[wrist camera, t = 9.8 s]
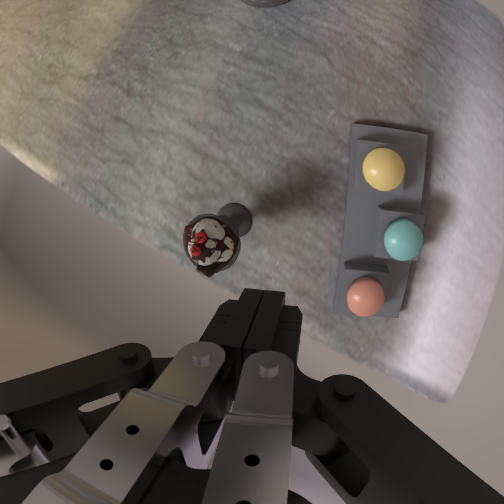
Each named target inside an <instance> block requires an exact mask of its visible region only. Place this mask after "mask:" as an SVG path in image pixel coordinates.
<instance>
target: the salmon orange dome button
mask: <svg viewBox="0 0 504 504" xmlns="http://www.w3.org/2000/svg"><path fill="white" fill-rule="evenodd" d="M384 299H385V297H384V292H383V290H382V287H381V285H380V283H379V282H378V281H377V280H375V279H373V278H369V277H363V278H359V279H357V280H355V281H354V282H353V283H352V284H351V285H350V286H349V288H348V290H347V303H348V307H349V309H350V310H351V311H352V312H353V313H354V314H356V315H358V316H370V315H373V314H375V313H376V312H378V311H379V310H380V309H381V307H382V306H383V304H384Z"/></svg>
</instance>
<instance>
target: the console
mask: <svg viewBox="0 0 504 504" xmlns="http://www.w3.org/2000/svg"><path fill="white" fill-rule="evenodd" d="M427 135H428V134H423V133H417V132H411V131H405V130H399V129H392V128H385V127H378V126H370V125H362V124H353V123H352V124H351V131H350V152H349V168H348V182H347V195H346V206H345V217H344V227H343V236H342V244H341V253H340V261H339V268H338V276H337V283H336V290H335V296H334V303H333V313H341V314H353V315H356V314H354V313H353V312H352V311H351V310H350V309H349V307H348V303H347V290H348V288H349V286H350V285H351V284H352V283H353V282H354V281H355V280H357V279H359V278H363V277H369V278H373V279H375V280H377V281H378V282H379V283H380V285H381V287H382V290H383V292H384V297H385V299H384V304H383V306H382V307H381V309H380V310H379V311H378V312H376V313H375V314H373V315H370V316H379V317H394V318H398V316H399V312H400V309H401V305H402V301H403V297H404V293H405V289H406V284H407V280H408V275H409V271H410V266H411V261H418V258H419V253H420V251H419V253H418V254H417V255H416V256H415V257H414V258H412V259H410V260H406V261H399V260H396V259H394V258H393V257H391V256H390V255H389V253H388V252H387V250H386V248H385V246H384V243H383V234H384V231H385V229H386V227H387V226H388V225H389V224H390V223H391V222H392V221H394V220H396V219H400V218H405V219H408V220H411V221H412V222H413V223H414V224H415V225H416V226H417V227H418V228H419V229H420V230H421V232H422V235H423V231H424V225H425V219H426V215H425V214H424V213H422V212H421V211H420V209H421V201H422V193H423V185H424V175H425V165H426V152H427ZM375 148H387V149H391V150H393V151H395V152H396V153H397V154H398V155H399V156H400V157H401V159H402V161H403V163H404V167H405V174H404V178H403V180H402V182H401V183H400V184H399V185H398V186H397V187H396V188H395V189H392V190H389V191H380V190H377V189H375V188H374V187H372V186H371V185H370V184H369V183H368V182H367V181H366V180H365V178H364V176H363V173H362V162H363V159H364V157H365V156H366V154H367V153H368V152H370V151H371V150H373V149H375Z"/></svg>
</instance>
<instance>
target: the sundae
mask: <svg viewBox="0 0 504 504" xmlns="http://www.w3.org/2000/svg"><path fill="white" fill-rule="evenodd" d="M250 227H251V216H250V214H249V212H248V211H247V209H246V208H244V207H243V206H242V205H239V204H235V203H231V204H227V205H225V206H223V207H222V208H221V209H220V211H219V212H218V215H217V216H216V215H213V214H203V215H199V216H197V217H196V218H194V219H193V220H191V221H190V222H189V224H188V225H187V226H185V230H184V234H183V244H184V248H185V252H186V254H187V256H188V258H189V259H190V261H191V262H192V263H193V264H194V265H195V266H197V269H196V271H197V272H199V273H201V274H203V275H205V276H207V277H212V275H213V274H214V273H217V272H219V271H223V270H225V269H227V268H229V267H231V265H232V264H233V263H234V262H235V261H236V259H237V257H238V255H239V251H240V245H241V243H240V238H239V237H242V236H244V235H245V234H246V233H247V232H248V231H249V230H250Z"/></svg>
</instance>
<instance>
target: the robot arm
mask: <svg viewBox="0 0 504 504" xmlns="http://www.w3.org/2000/svg"><path fill="white" fill-rule="evenodd" d="M242 1H244V2H245V3H247V4H249V5H252V6H256V7H274V6H278V5H281V4H283V3H286V2H287V1H289V0H242ZM302 315H303V314H302V313H301V311H300V309H299V308H298V306H288V305H285V292H280V291H270V290H265V291H264V290H259V289H249V288H244V290H243V292H242V294H241V296H240V298H239V300H228V301H226V302H225V303H223V304H222V305H220V306H219V308H218V310H217V311H216V313H215V315H214V316H213V318H212V320H211V322H210V323H209V325H208V326H207V328H206V330H205V332H204V333H203V335H202V336H201V338H200V340H199V341H198V342H195V343H191V344H188V345H186V346H184V347H183V348H182V349H181V350H180V351H179V352H178V353H177V355H176V356H175V357H171V358H152V356H151V352H150V350H149V349H148V348H147V347H146V346H144V345H142V344H139V343H126V344H122V345H119V346H116V347H113V348H110V349H107V350H104V351H101V352H98V353H95V354H92V355H89V356H86V357H83V358H80V359H77V360H74V361H71V362H68V363H65V364H62V365H58V366H56V367H52V368H49V369H46V370H43V371H40V372H36V373H33V374H30V375H26V376H23V377H20V378H16V379H13V380H9V381H6V382H3V383H0V504H312V503H311V502H309V501H308V500H307V499H305V498H304V497H302V496H300V495H299V494H297V493H295V492H293V491H291V490H289V489H288V484H289V471H290V458H291V445H292V446H295V447H297V448H300V449H303V450H305V454H306V456H307V458H308V459H309V460H310V462H311V463H312V464H313V465H314V467H315V468H316V469H317V470H318V471H319V473H320V474H321V475H322V476H323V477H324V478H325V480H326V481H327V482H328V483H329V484H330V486H331V487H332V488H333V489H334V490H335V491H336V492H337V494H338V495H339V496H340V497H341V498H342V499H343V500H344V501H345V503H346V504H504V496H502V495H501V494H499V493H498V492H497V491H496V490H495V489H493V488H492V487H491V486H489V485H488V484H487V483H485V482H484V481H483V480H482V479H480V478H479V477H478V476H477V475H475V474H474V473H473V472H472V471H470V470H469V469H468V468H467V467H466V466H464V465H463V464H462V463H461V462H459V461H458V460H457V459H455V458H454V457H453V456H452V455H451V454H449V453H448V452H447V451H445V450H444V449H443V448H442V447H441V446H440V445H438V444H437V443H436V442H435V441H434V440H432V439H431V438H430V437H429V436H427V435H426V434H425V433H424V432H423V431H421V430H420V429H419V428H418V427H417V426H415V425H414V424H413V423H412V422H411V421H409V420H408V419H407V418H406V417H405V416H404V415H402V414H401V413H400V412H399V411H398V410H396V409H395V408H394V407H393V406H392V405H390V404H389V403H388V402H387V401H386V400H384V399H383V398H382V397H381V396H380V395H379V394H378V393H376V392H375V391H374V390H373V389H372V388H370V387H369V386H368V385H367V384H366V383H365V382H363V381H362V380H361V379H359V378H357V377H354V376H350V375H344V374H343V375H342V374H340V375H333V376H330V377H328V378H326V379H324V380H323V381H322V382H320V381H317V380H314V379H311V378H309V377H307V376H306V375H304V374H303V373H302V372H301V371H300V370H299V368H298V366H297V358H298V351H299V344H300V334H301V325H302ZM116 392H118V395H119V398H120V401H118V402H115V403H112V404H110V405H107V406H104V407H101V408H99V409H96V410H93V411H91V412H81V411H80V410H78V408H79V407H80V406H82V405H83V404H86V403H89V402H92V401H94V400H97V399H100V398H103V397H105V396H108V395H111V394H114V393H116ZM233 401H234V406H233V409H232V413H229V410H230V408H231V405H232V403H233ZM218 441H219V442H218ZM217 443H218V446H217V449H216V453H215V457H214V460H213V464H212V468H211V469H206V468H207V464H208V461H209V459H210V457H211V455H212V453H213V451H214V449H215V447H216V445H217Z"/></svg>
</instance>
